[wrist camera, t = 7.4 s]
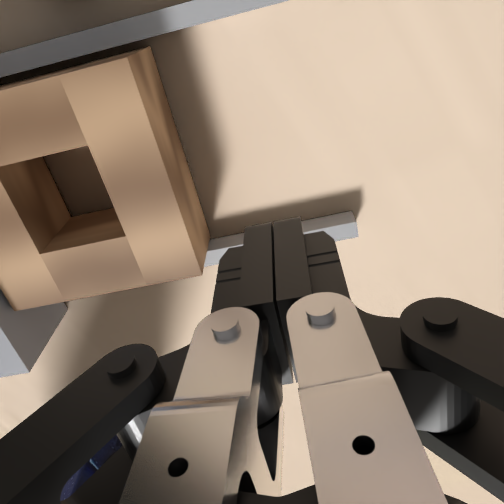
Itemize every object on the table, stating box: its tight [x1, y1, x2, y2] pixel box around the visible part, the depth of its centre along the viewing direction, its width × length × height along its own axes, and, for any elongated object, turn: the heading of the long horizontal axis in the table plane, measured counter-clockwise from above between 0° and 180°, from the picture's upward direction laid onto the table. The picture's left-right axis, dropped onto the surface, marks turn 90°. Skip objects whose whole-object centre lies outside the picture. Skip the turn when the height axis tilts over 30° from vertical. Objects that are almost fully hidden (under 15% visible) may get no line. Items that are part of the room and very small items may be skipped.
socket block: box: [0, 46, 210, 311], centre depth 24 cm, size 11×11×4 cm
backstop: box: [0, 0, 358, 377], centre depth 23 cm, size 18×22×6 cm
